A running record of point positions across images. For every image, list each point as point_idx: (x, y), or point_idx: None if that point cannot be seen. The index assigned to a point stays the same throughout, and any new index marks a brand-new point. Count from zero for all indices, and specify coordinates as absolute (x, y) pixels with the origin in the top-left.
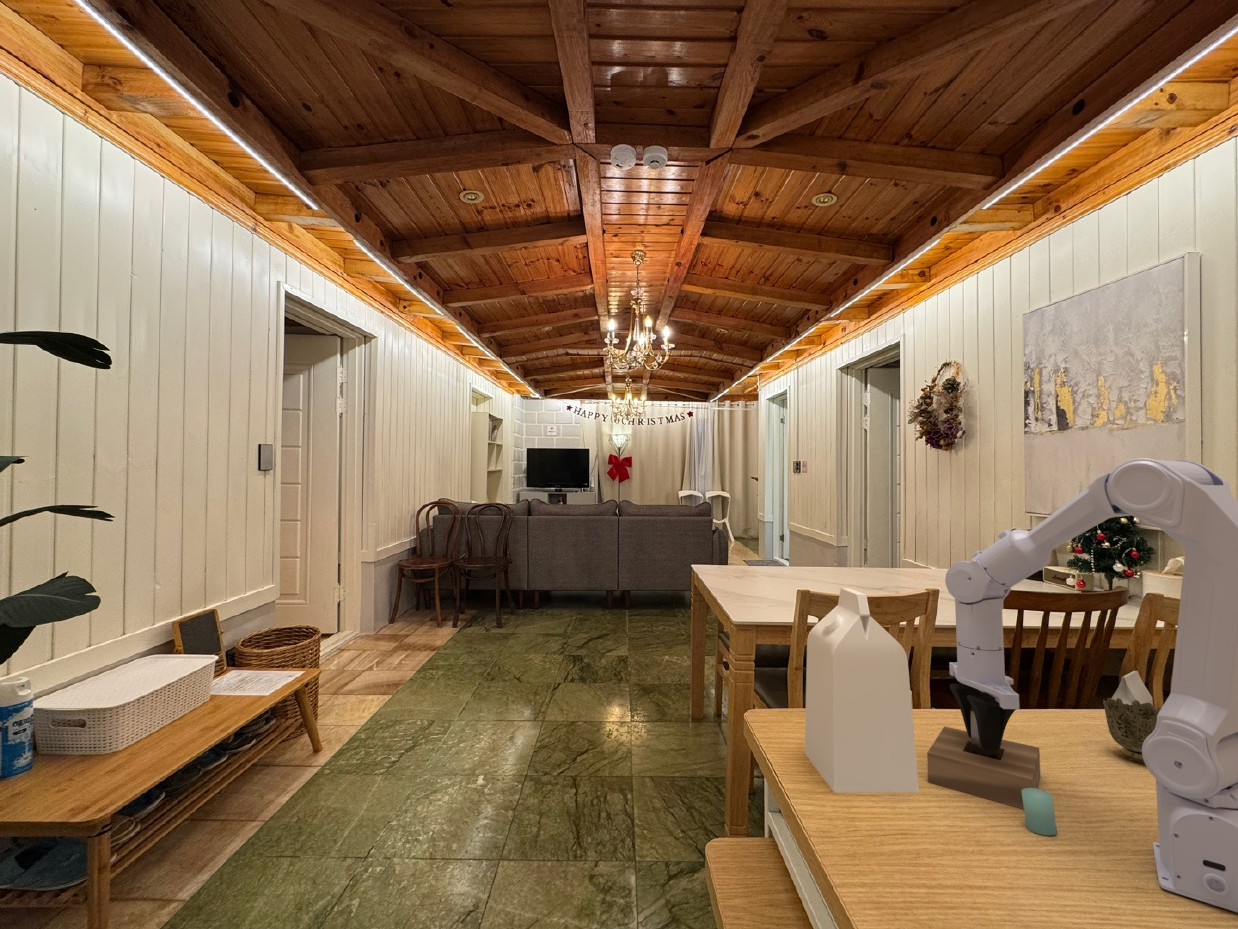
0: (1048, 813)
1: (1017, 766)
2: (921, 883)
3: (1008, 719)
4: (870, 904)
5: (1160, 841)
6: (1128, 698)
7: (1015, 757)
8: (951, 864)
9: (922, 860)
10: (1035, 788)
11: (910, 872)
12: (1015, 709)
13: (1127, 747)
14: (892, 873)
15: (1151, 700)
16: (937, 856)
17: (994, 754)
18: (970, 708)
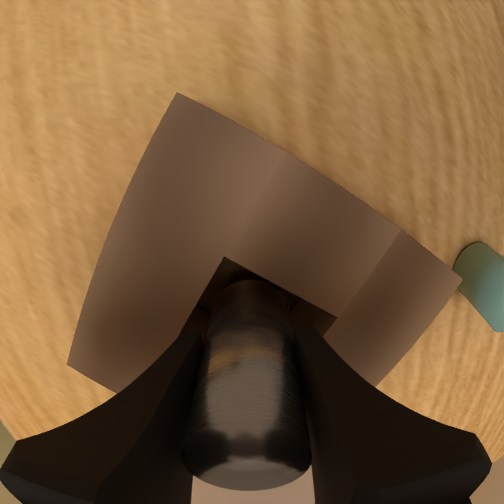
0: None
1: (385, 282)
2: (501, 428)
3: (402, 406)
4: (500, 452)
5: None
6: None
7: (308, 252)
8: (494, 407)
9: (479, 429)
10: (499, 296)
11: (487, 436)
12: (471, 435)
13: None
14: (483, 446)
15: None
16: (480, 418)
17: (288, 319)
18: (182, 471)
